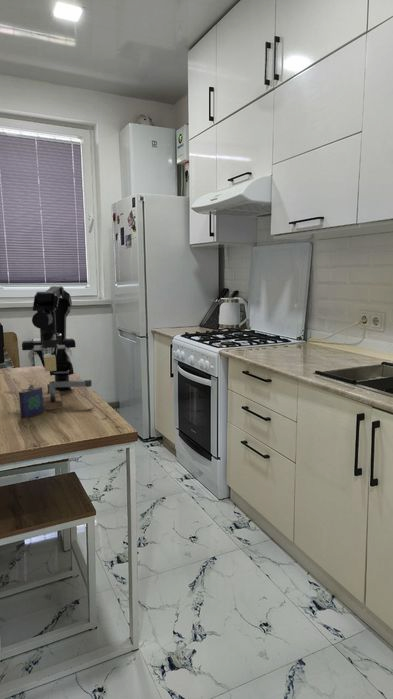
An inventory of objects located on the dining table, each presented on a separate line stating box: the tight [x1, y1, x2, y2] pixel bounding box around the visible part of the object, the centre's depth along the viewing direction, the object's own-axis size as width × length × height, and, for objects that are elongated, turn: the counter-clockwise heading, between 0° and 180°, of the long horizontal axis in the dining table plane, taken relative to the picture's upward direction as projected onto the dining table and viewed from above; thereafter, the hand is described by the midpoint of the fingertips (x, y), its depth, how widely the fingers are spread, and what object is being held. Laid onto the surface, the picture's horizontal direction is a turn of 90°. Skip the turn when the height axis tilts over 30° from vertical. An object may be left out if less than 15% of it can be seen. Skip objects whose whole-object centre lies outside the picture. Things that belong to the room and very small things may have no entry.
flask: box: [18, 384, 45, 420], centre depth 153 cm, size 9×3×11 cm, turn 152°
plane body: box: [42, 383, 63, 411], centre depth 169 cm, size 19×6×5 cm, turn 20°
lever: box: [48, 379, 93, 402], centre depth 163 cm, size 15×2×7 cm, turn 96°
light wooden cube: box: [43, 354, 56, 372], centre depth 170 cm, size 6×4×5 cm, turn 20°
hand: (50, 367), depth 170 cm, fingers closed on light wooden cube, 4 cm apart
